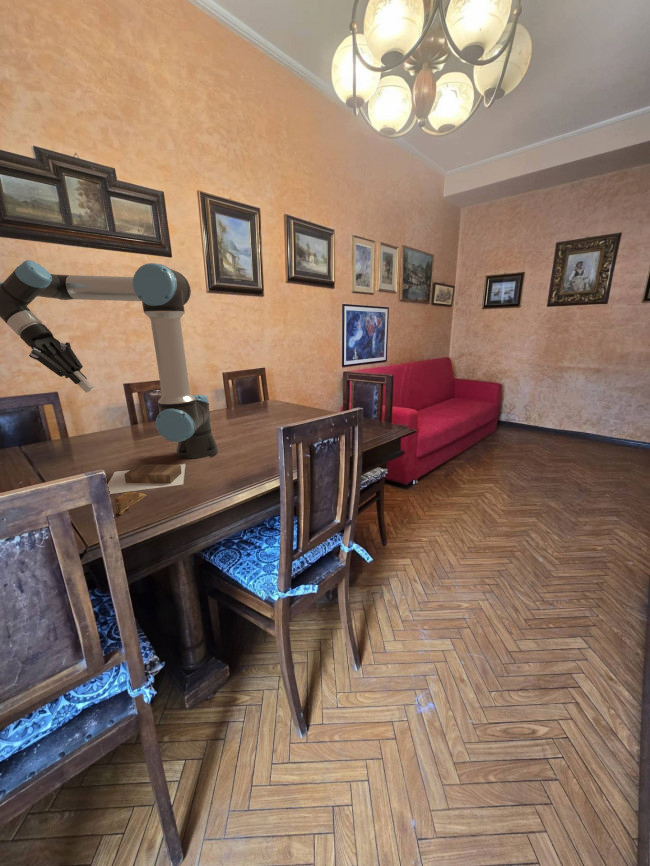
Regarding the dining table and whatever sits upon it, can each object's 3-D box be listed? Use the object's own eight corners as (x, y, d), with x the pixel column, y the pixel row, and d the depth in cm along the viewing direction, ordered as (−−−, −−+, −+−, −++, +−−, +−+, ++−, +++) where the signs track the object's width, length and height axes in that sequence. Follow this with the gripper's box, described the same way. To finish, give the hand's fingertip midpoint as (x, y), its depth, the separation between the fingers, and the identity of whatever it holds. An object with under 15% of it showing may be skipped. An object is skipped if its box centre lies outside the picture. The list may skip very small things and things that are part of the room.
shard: (120, 517, 90) (118, 511, 90) (95, 514, 92) (94, 508, 91) (149, 498, 100) (148, 493, 100) (126, 496, 102) (125, 490, 102)
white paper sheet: (185, 465, 123) (185, 463, 123) (183, 486, 107) (183, 484, 107) (115, 473, 116) (114, 471, 116) (101, 497, 100) (101, 495, 100)
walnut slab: (124, 474, 107) (169, 474, 106) (138, 464, 114) (180, 464, 114) (125, 483, 108) (170, 483, 107) (139, 472, 115) (181, 473, 115)
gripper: (46, 334, 115) (100, 389, 120) (5, 341, 103) (66, 403, 108) (55, 319, 112) (110, 377, 116) (14, 325, 100) (77, 389, 105)
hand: (89, 389), depth 112 cm, fingers closed
